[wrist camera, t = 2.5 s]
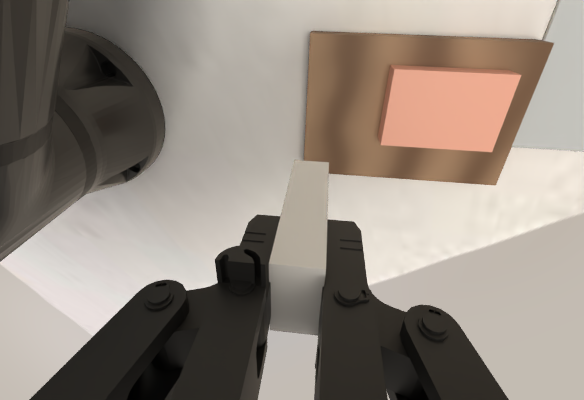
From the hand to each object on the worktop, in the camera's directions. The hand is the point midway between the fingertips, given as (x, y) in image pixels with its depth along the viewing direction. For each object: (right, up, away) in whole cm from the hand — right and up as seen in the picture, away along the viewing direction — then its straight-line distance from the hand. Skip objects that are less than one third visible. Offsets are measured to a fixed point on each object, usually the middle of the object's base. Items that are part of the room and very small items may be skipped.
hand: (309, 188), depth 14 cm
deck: (+10, +8, +15) cm, 20 cm away
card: (+11, +7, +12) cm, 18 cm away
